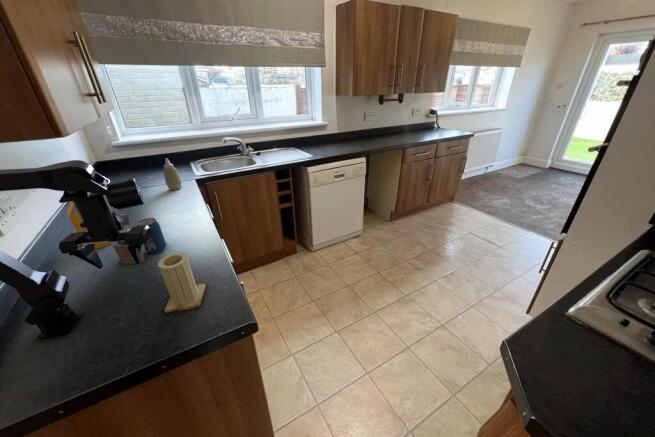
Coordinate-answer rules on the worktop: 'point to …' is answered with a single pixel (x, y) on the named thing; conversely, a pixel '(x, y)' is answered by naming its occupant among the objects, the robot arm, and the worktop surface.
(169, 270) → the cream hollow cylinder
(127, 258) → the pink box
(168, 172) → the squeeze bottle
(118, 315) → the worktop surface
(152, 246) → the soda can
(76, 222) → the orange juice
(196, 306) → the stand
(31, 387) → the worktop surface
